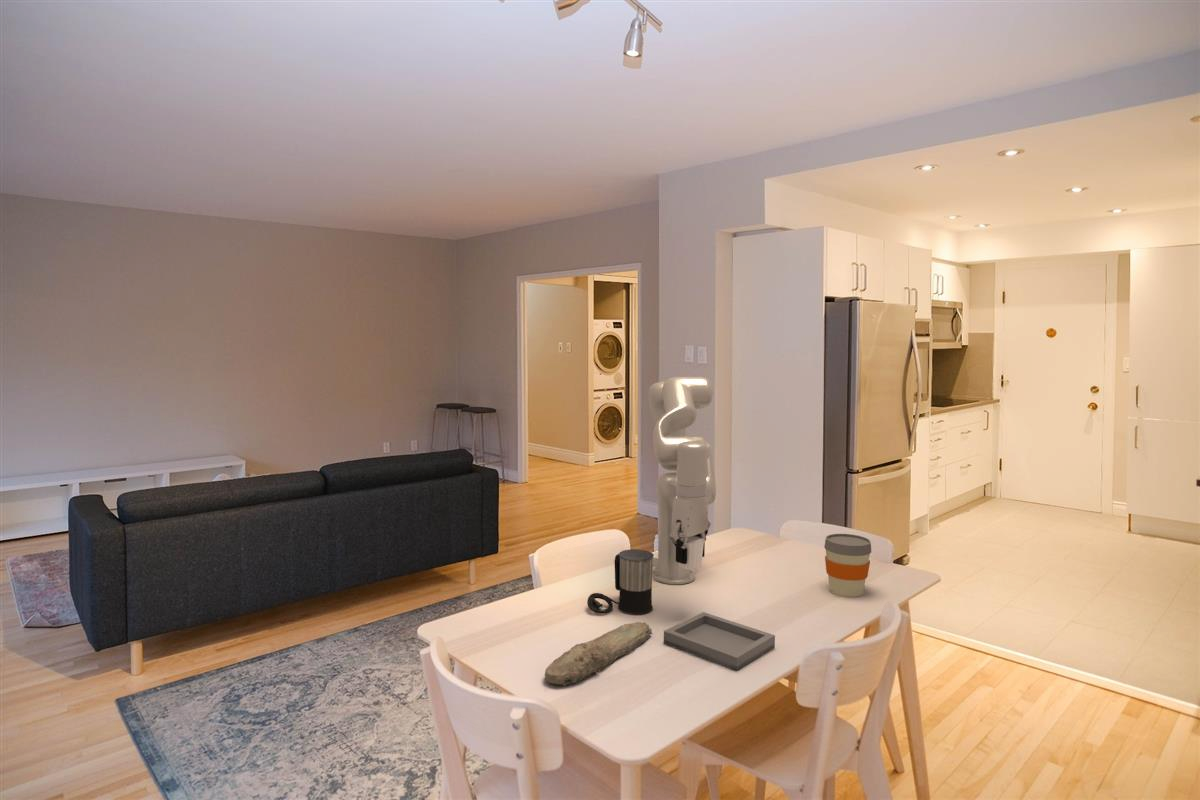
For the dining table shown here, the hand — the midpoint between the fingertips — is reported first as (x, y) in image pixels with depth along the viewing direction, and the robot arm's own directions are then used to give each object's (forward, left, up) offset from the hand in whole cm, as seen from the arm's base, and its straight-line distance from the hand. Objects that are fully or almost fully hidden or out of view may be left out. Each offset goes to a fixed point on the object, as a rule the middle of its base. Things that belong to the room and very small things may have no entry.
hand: (690, 558), depth 181 cm
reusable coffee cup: (+21, +46, -15) cm, 53 cm away
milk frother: (-16, -9, -16) cm, 24 cm away
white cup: (0, 0, -2) cm, 2 cm away
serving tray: (+15, -9, -15) cm, 23 cm away
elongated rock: (0, -32, -16) cm, 36 cm away
